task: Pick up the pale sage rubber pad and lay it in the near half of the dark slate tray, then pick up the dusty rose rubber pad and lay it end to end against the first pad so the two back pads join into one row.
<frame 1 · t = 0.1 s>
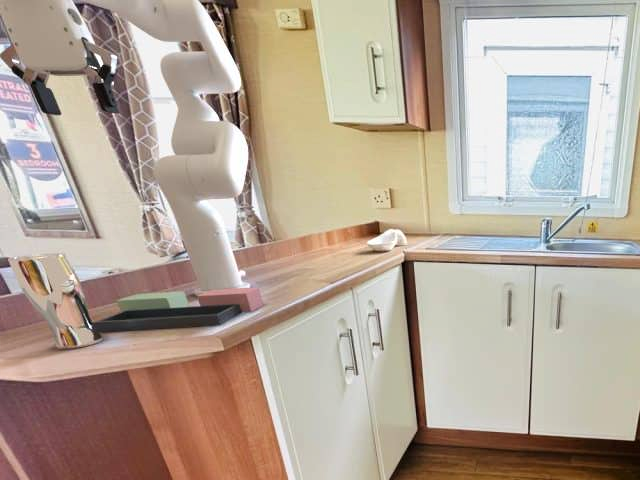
hand: (82, 113, 74), 37 cm above the countertop, tool pointing down, fingers open, 9 cm apart
pad rose: (234, 309, 93), on the countertop
frame: (173, 322, 85), on the countertop
spoon rest: (389, 249, 179), on the countertop
pad sage: (158, 313, 92), on the countertop
chrome vase: (81, 344, 75), on the countertop
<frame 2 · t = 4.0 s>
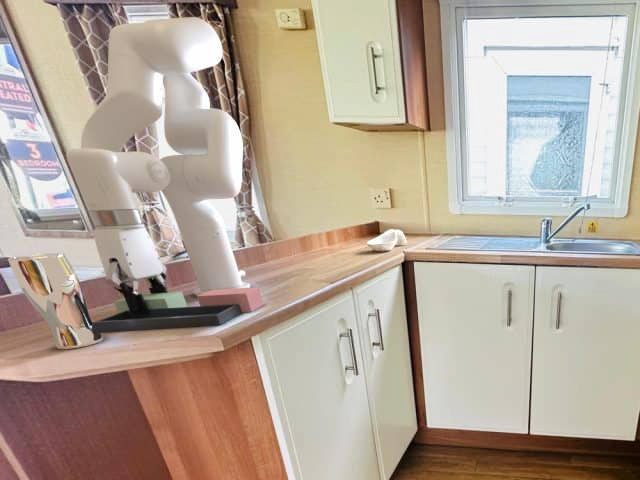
hand: (152, 308, 90), 1 cm above the countertop, tool pointing down, fingers open, 6 cm apart
pad sage: (156, 314, 91), on the countertop, touching frame, gripper
everything else where it was.
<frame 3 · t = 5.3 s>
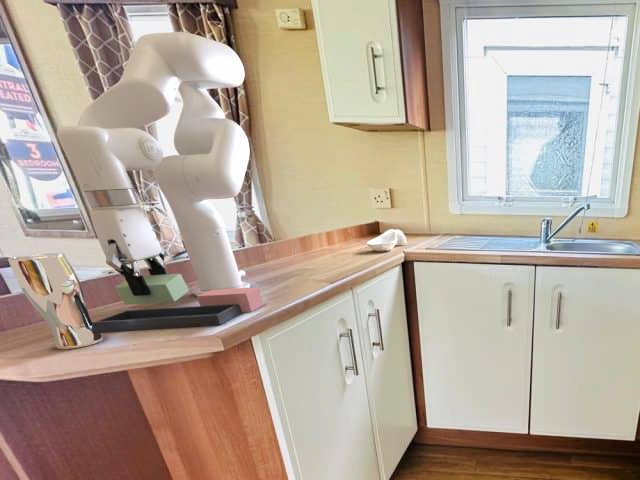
hand: (153, 290, 91), 5 cm above the countertop, tool pointing down, fingers closed on pad sage, 6 cm apart
pad sage: (158, 297, 92), point 3 cm above the countertop, tilted 11°, touching gripper
everything else where it was.
when the fingers open (2 cm above the countertop, at t = 10.1 s): pad sage stays where it is, resting on frame.
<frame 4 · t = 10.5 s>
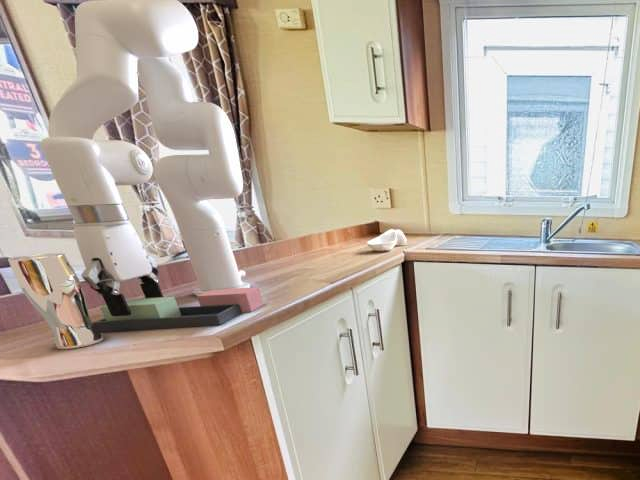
hand: (140, 308, 83), 3 cm above the countertop, tool pointing down, fingers open, 9 cm apart
pad sage: (146, 321, 85), resting on frame
everything else where it was.
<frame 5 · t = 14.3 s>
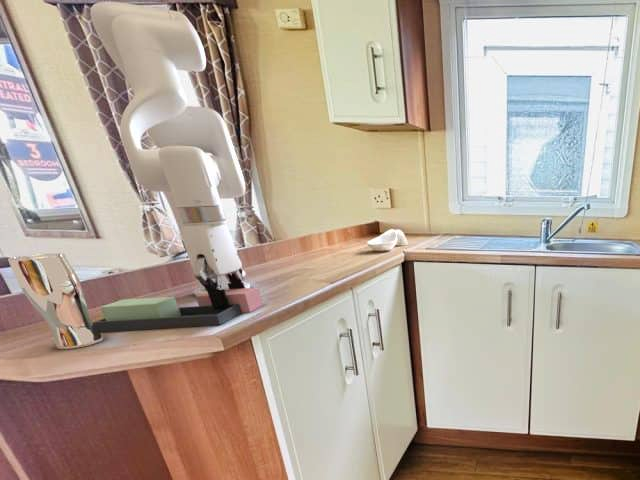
hand: (231, 304, 91), 1 cm above the countertop, tool pointing down, fingers open, 7 cm apart
pad rose: (233, 309, 92), on the countertop, touching gripper
everything else where it was.
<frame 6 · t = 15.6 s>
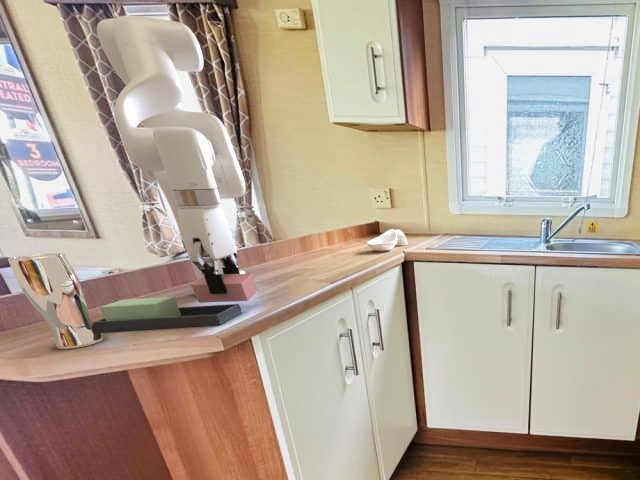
hand: (227, 288, 92), 4 cm above the countertop, tool pointing down, fingers closed on pad rose, 6 cm apart
pad rose: (229, 296, 93), point 3 cm above the countertop, tilted 10°, touching gripper
everything else where it was.
when the fingers open (2 cm above the countertop, at t = 20.4 s): pad rose stays where it is, resting on frame.
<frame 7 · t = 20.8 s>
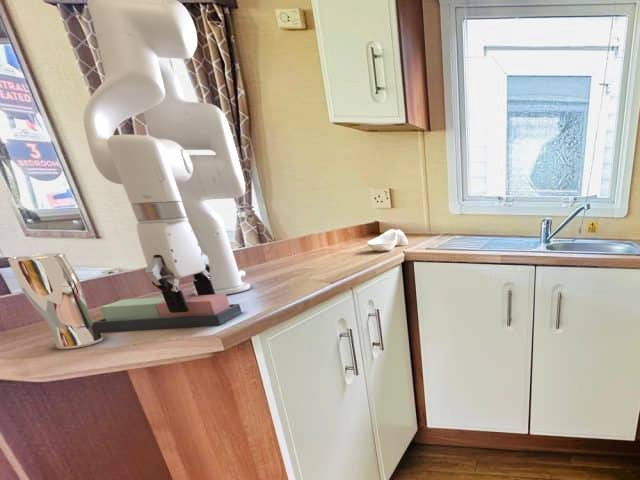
hand: (194, 305, 84), 3 cm above the countertop, tool pointing down, fingers open, 9 cm apart
pad rose: (199, 318, 85), resting on frame
everything else where it was.
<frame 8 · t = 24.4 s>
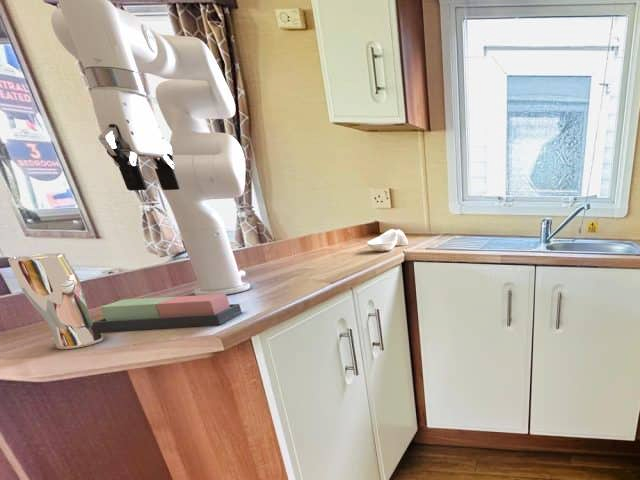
hand: (155, 189, 83), 24 cm above the countertop, tool pointing down, fingers open, 9 cm apart
nothing on the countertop moved.
at the end: pad sage 0.3 cm from the target spot in the frame, point 0.5 cm above the frame's base; pad rose 0.3 cm from the target spot in the frame, point 0.5 cm above the frame's base; pad rose 10.2 cm from the pad sage (horizontally) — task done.
